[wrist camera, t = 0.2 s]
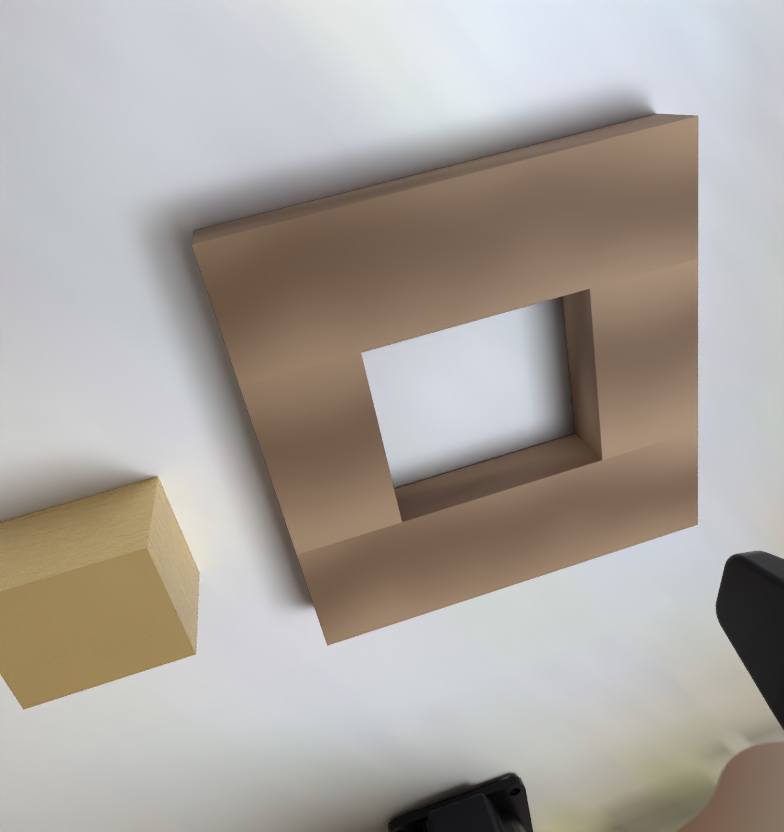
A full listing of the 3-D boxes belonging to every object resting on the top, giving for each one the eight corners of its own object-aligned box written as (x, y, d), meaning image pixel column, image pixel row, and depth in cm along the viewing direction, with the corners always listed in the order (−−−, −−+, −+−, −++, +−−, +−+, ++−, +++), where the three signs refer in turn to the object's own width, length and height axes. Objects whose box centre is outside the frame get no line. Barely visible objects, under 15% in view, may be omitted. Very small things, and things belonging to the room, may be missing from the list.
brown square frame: (666, 496, 27) (697, 524, 25) (319, 607, 25) (327, 645, 24) (656, 113, 21) (698, 115, 19) (193, 230, 19) (191, 244, 17)
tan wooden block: (199, 571, 24) (195, 653, 20) (53, 615, 23) (23, 709, 20) (158, 474, 22) (146, 547, 18) (-2, 521, 21) (-45, 605, 18)
